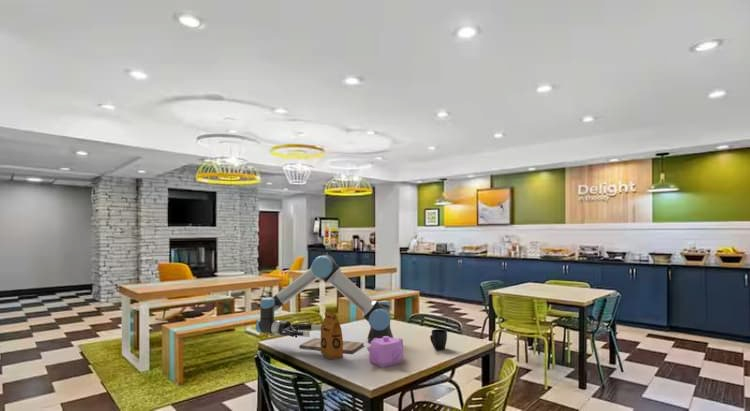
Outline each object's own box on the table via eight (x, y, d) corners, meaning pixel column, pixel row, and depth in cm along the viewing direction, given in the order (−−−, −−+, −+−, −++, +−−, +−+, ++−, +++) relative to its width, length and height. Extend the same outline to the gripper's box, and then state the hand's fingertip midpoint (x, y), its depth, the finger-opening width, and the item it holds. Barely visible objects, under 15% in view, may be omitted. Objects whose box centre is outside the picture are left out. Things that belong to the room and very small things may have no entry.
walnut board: (363, 345, 229) (363, 342, 229) (351, 353, 214) (351, 350, 214) (314, 340, 240) (314, 337, 240) (299, 347, 226) (299, 345, 226)
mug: (424, 350, 218) (424, 332, 218) (437, 345, 226) (437, 328, 227) (437, 353, 212) (436, 335, 213) (450, 348, 221) (449, 330, 221)
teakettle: (403, 356, 208) (403, 332, 208) (403, 368, 191) (402, 341, 191) (370, 356, 209) (370, 332, 210) (367, 367, 192) (366, 341, 193)
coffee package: (327, 360, 202) (327, 316, 204) (318, 354, 213) (318, 312, 214) (345, 357, 207) (345, 314, 209) (335, 351, 218) (335, 310, 219)
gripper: (294, 329, 234) (327, 332, 226) (267, 340, 210) (303, 344, 203) (294, 316, 234) (326, 318, 226) (267, 326, 211) (303, 329, 203)
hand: (315, 331), depth 214 cm, fingers open, 13 cm apart
